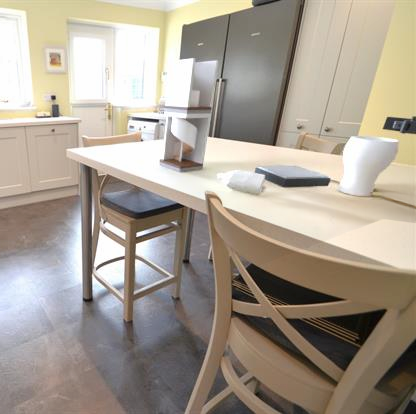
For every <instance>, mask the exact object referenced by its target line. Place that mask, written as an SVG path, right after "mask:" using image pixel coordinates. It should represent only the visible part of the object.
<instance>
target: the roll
mask: <svg viewBox="0 0 416 414" xmlns="http://www.w3.org/2000/svg"><path fill="white" fill-rule="evenodd" d="M216 177H217V180H219V181H220V182H221V183H223V185H225V187H227V188H228V189H229V190H233V191H239V192H245V193H248V194H254V195H259V196H260V195H261V193H262V191H263V188H264V183H265V180H266V179H265V175H263V174H257V173H255V172H252V171H246V170H240V169H235V170H231V171H228V172H225V173H223V172H221V173H217V175H216Z"/></svg>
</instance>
